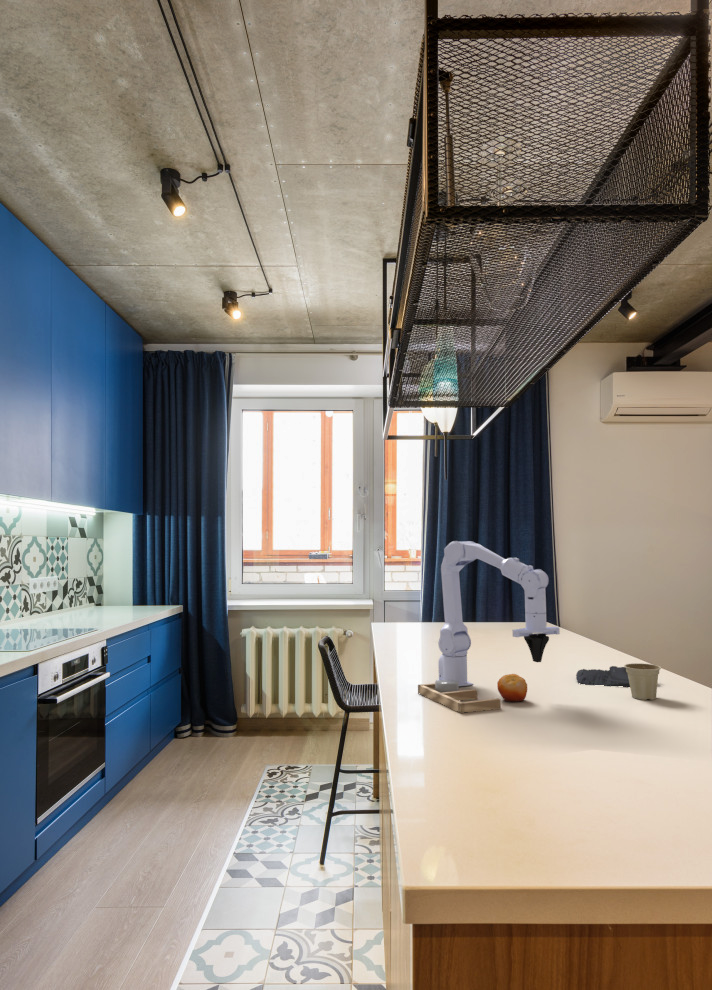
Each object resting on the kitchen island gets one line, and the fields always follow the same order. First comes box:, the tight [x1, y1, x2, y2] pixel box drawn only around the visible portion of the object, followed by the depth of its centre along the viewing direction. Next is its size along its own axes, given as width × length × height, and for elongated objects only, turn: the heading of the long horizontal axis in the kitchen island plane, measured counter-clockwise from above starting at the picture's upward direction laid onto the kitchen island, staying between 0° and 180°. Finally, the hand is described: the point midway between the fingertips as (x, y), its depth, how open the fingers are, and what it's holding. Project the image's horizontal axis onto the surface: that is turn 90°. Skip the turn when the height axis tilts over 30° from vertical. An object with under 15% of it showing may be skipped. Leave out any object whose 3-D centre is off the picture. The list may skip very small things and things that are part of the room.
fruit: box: [497, 673, 528, 703], centre depth 181 cm, size 8×8×8 cm
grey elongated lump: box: [575, 665, 630, 688], centre depth 204 cm, size 15×22×5 cm
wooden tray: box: [417, 682, 502, 714], centre depth 181 cm, size 24×12×2 cm, turn 21°
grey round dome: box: [434, 679, 460, 693], centre depth 187 cm, size 7×7×4 cm
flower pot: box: [623, 662, 662, 701], centre depth 183 cm, size 9×9×9 cm
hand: (537, 661), depth 184 cm, fingers closed
